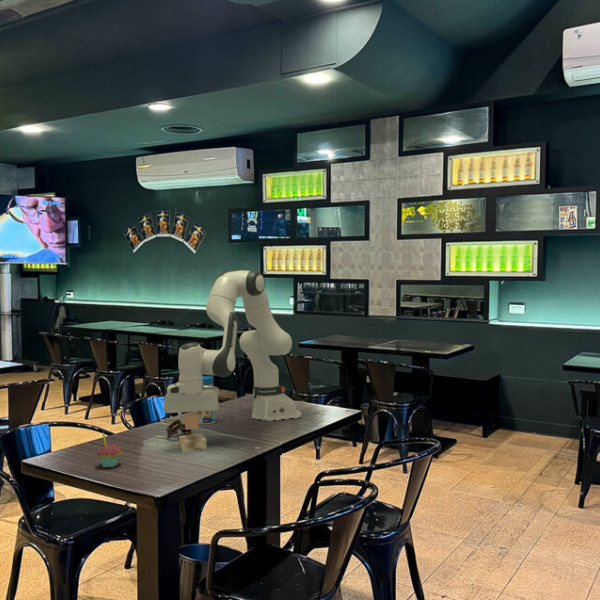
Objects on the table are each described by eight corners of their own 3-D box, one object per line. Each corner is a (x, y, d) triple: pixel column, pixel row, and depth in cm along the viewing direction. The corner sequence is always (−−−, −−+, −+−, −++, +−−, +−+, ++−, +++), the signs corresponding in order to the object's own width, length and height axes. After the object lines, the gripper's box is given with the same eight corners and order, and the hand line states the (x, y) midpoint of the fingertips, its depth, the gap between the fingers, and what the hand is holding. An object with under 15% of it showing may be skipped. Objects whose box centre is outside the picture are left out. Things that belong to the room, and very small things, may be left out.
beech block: (203, 443, 242) (202, 433, 241) (206, 450, 233) (206, 439, 233) (179, 446, 239) (179, 435, 239) (182, 452, 230) (181, 441, 230)
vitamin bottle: (220, 422, 273) (218, 377, 272) (202, 425, 269) (200, 379, 268) (211, 419, 280) (210, 374, 279) (193, 422, 276) (192, 376, 275)
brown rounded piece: (192, 441, 246) (181, 425, 244) (172, 451, 248) (160, 435, 246) (198, 426, 257) (187, 410, 255) (178, 436, 259) (168, 420, 257)
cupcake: (98, 470, 210) (97, 435, 209) (95, 464, 218) (94, 429, 217) (124, 467, 213) (123, 432, 213) (121, 460, 221) (120, 426, 221)
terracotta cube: (198, 425, 238) (198, 412, 238) (198, 428, 233) (198, 415, 233) (185, 426, 238) (185, 413, 237) (185, 429, 233) (184, 416, 232)
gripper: (218, 383, 240) (219, 419, 240) (163, 386, 236) (164, 422, 237) (219, 386, 233) (220, 423, 234) (163, 389, 230) (164, 426, 231)
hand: (191, 423), depth 235 cm, fingers closed on terracotta cube, 5 cm apart
